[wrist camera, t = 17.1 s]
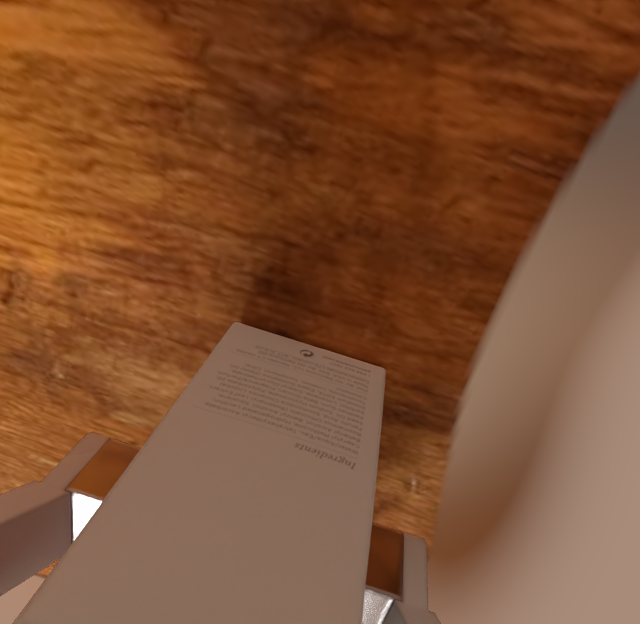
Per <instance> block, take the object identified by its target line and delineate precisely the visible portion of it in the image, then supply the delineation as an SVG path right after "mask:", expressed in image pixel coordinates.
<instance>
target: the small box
mask: <svg viewBox="0 0 640 624" xmlns="http://www.w3.org/2000/svg"><path fill="white" fill-rule="evenodd" d="M385 376H386V371H385V369H384V368H382V367H379V366H376V365H372V364H369V363H366V362H363V361H360V360H356V359H353V358H350V357H347V356H344V355H341V354H338V353H334V352H331V351H328V350H325V349H322V348H318V347H315V346H312V345H308V344H305V343H302V342H299V341H296V340H292V339H289V338H286V337H283V336H280V335H276V334H273V333H270V332H267V331H264V330H261V329H257V328H254V327H251V326H248V325H245V324H242V323H239V322H234V323H233V324H232V325H231V326H230V328H229V329H228V331H227V332H226V333H225V335H224V336H223V337H222V339H221V340H220V341H219V343H218V344H217V345H216V347H215V348H214V349H213V351H212V352H211V353H210V355H209V356H208V358H207V359H206V360H205V362H204V363H203V364H202V366H201V367H200V368H199V370H198V371H197V373H196V374H195V375H194V377H193V378H192V379H191V381H190V382H189V383H188V385H187V386H186V388H185V389H184V390H183V392H182V393H181V395H180V396H179V397H178V399H177V400H176V401H175V403H174V404H173V406H172V407H171V408H170V410H169V411H168V412H167V414H166V415H165V416H164V418H163V419H162V420H161V422H160V423H159V425H158V426H157V427H156V429H155V430H154V431H153V433H152V434H151V435H150V437H149V438H148V440H147V441H146V443H145V444H144V445H143V447H142V448H141V449H140V451H139V452H138V453H137V455H136V456H135V457H134V459H133V460H132V462H131V463H130V464H129V466H128V467H127V468H126V470H125V471H124V473H123V474H122V475H121V477H120V478H119V479H118V481H117V482H116V483H115V485H114V486H113V487H112V489H111V490H110V492H109V493H108V494H107V496H106V497H105V498H104V500H103V501H102V503H101V504H100V505H99V507H98V508H97V509H96V511H95V512H94V514H93V515H92V516H91V518H90V519H89V521H88V522H87V523H86V525H85V526H84V527H83V529H82V530H81V532H80V533H79V534H78V536H77V537H76V538H75V540H74V541H73V542H72V544H71V545H70V547H69V548H68V549H67V551H66V552H65V553H64V555H63V556H62V557H61V559H60V560H59V561H58V563H57V564H56V566H55V567H54V568H53V570H52V571H51V572H50V574H49V575H48V576H47V578H46V579H45V580H44V582H43V583H42V585H41V586H40V587H39V589H38V590H37V591H36V593H35V594H34V595H33V597H32V598H31V600H30V601H29V602H28V604H27V605H26V606H25V608H24V609H23V610H22V612H21V613H20V614H19V616H18V617H17V618H16V619H15V621H14V622H13V624H362V617H363V605H364V593H365V582H366V574H367V566H368V557H369V548H370V538H371V529H372V520H373V508H374V499H375V489H376V479H377V468H378V457H379V447H380V435H381V425H382V413H383V401H384V390H385Z"/></svg>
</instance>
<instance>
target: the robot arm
mask: <svg viewBox="0 0 640 624" xmlns="http://www.w3.org/2000/svg"><path fill="white" fill-rule="evenodd" d="M140 449H141V448H139V447H136V446H133V445H130V444H127V443H125V442H122V441H119V440H116V439H113V438H110V437H107V436H104V435H101V434H98V433H95V432H91V433H89V434H87V435H85V436H84V437H83V438H82V439H81V440H80V441H79V442H78V443H77V445H76V446H75V447H74V448H73V449H72V450H71V451H70V452H69V453H68V454H67V455H66V456H65V457H64V458H63V459H62V460H61V461H60V462H59V464H58V465H57V466H56V467H55V468H54V469H53V470H52V471H51V472H50V473H49V474H48V475H47V476H46V477H45V478H44V479H43V480H42V481H41V482H38V481H32V482H30V483H27V484H25V485H22V486H20V487H17V488H15V489H12V490H10V491H7V492H5V493H2V494H0V596H1V595H3V594H5V593H6V592H8V591H9V590H11V589H12V588H14V587H15V586H17V585H19V584H20V583H22V582H24V581H25V580H27V579H28V578H30V577H32V576H33V575H35V574H36V573H38V572H39V571H41V570H43V569H44V568H46V567H47V566H49V565H51V564H52V563H54V562H55V561H57V560H58V559H60V558H61V557H62V556H63V555H64V553H65V552H66V551H67V549H68V548H69V547H70V545H71V544H72V542H73V541H74V540H75V538H76V537H77V536H78V534H79V533H80V532H81V530H82V529H83V527H84V526H85V525H86V523H87V522H88V521H89V519H90V518H91V516H92V515H93V514H94V512H95V511H96V509H97V508H98V507H99V505H100V504H101V503H102V501H103V500H104V498H105V497H106V496H107V494H108V493H109V492H110V490H111V489H112V487H113V486H114V485H115V483H116V482H117V481H118V479H119V478H120V477H121V475H122V474H123V473H124V471H125V470H126V468H127V467H128V466H129V464H130V463H131V462H132V460H133V459H134V457H135V456H136V455H137V453H138V452H139V451H140ZM362 624H441V623H440V622H439V620H438V618H437V616H436V614H435V613H433V612H430V611H428V587H427V549H426V541H425V539H424V538H420V537H417V536H414V535H411V534H408V533H405V532H402V531H400V530H396V529H393V528H390V527H387V526H383V525H380V524H377V523H374V522H372V529H371V538H370V548H369V557H368V566H367V574H366V582H365V593H364V605H363V617H362Z"/></svg>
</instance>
